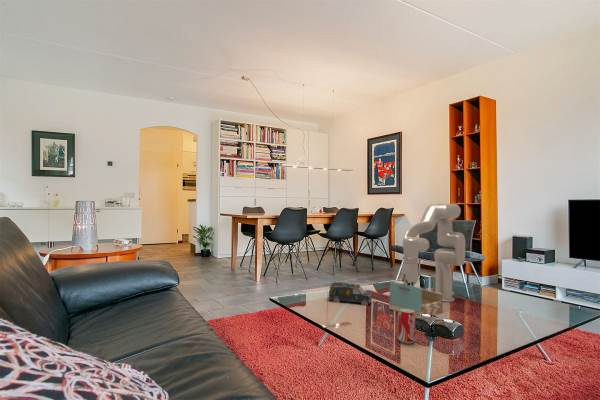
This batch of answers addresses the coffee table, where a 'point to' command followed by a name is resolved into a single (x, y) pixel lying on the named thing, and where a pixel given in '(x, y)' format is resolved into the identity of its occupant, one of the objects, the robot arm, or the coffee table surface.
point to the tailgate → (406, 296)
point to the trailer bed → (426, 303)
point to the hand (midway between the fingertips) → (410, 295)
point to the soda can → (406, 325)
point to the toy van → (349, 293)
